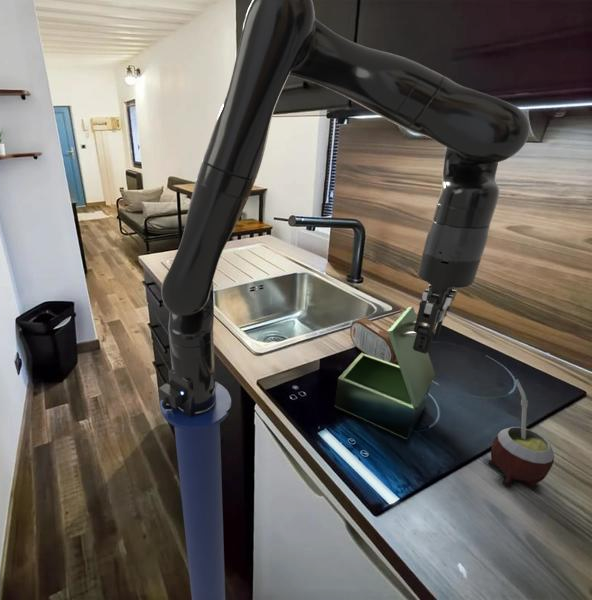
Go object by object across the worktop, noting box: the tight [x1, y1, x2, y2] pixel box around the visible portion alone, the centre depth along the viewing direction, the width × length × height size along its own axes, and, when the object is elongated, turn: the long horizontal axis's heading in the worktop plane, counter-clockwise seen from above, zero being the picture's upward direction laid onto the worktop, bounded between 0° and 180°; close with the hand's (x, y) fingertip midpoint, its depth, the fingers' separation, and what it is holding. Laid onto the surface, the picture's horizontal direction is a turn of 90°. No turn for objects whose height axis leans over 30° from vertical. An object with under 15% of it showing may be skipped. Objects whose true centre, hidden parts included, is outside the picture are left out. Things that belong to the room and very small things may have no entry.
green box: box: [333, 352, 432, 443], centre depth 73 cm, size 14×12×8 cm
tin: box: [349, 317, 399, 365], centre depth 89 cm, size 15×3×8 cm, turn 17°
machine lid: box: [387, 306, 436, 407], centre depth 64 cm, size 14×12×5 cm
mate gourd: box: [487, 378, 555, 490], centre depth 56 cm, size 8×8×15 cm
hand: (425, 342), depth 63 cm, fingers closed on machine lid, 6 cm apart
